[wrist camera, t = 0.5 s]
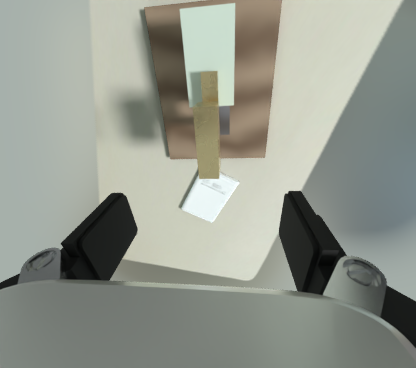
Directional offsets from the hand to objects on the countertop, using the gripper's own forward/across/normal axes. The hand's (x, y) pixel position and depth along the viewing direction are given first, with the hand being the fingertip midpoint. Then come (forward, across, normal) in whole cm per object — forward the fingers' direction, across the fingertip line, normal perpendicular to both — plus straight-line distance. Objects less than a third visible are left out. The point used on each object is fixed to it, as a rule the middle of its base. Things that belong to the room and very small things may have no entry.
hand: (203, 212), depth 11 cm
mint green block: (+21, +1, -9) cm, 23 cm away
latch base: (+25, +1, -5) cm, 25 cm away
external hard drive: (+26, +3, +15) cm, 30 cm away
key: (+23, +1, -2) cm, 24 cm away
